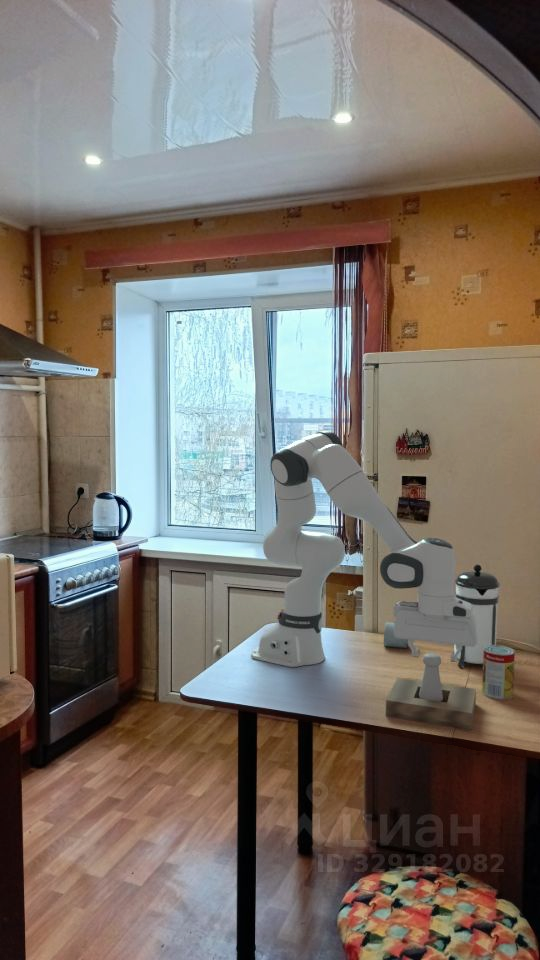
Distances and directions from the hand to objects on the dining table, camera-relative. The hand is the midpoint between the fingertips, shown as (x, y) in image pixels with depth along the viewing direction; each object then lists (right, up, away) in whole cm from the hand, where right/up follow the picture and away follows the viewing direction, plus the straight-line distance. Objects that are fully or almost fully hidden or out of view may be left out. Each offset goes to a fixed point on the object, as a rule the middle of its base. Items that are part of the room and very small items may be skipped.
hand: (434, 659), depth 166 cm
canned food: (+20, -13, +12) cm, 26 cm away
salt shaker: (-1, -12, +1) cm, 12 cm away
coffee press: (+21, -11, +37) cm, 44 cm away
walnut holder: (0, -13, +1) cm, 13 cm away
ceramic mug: (0, -10, +52) cm, 52 cm away
